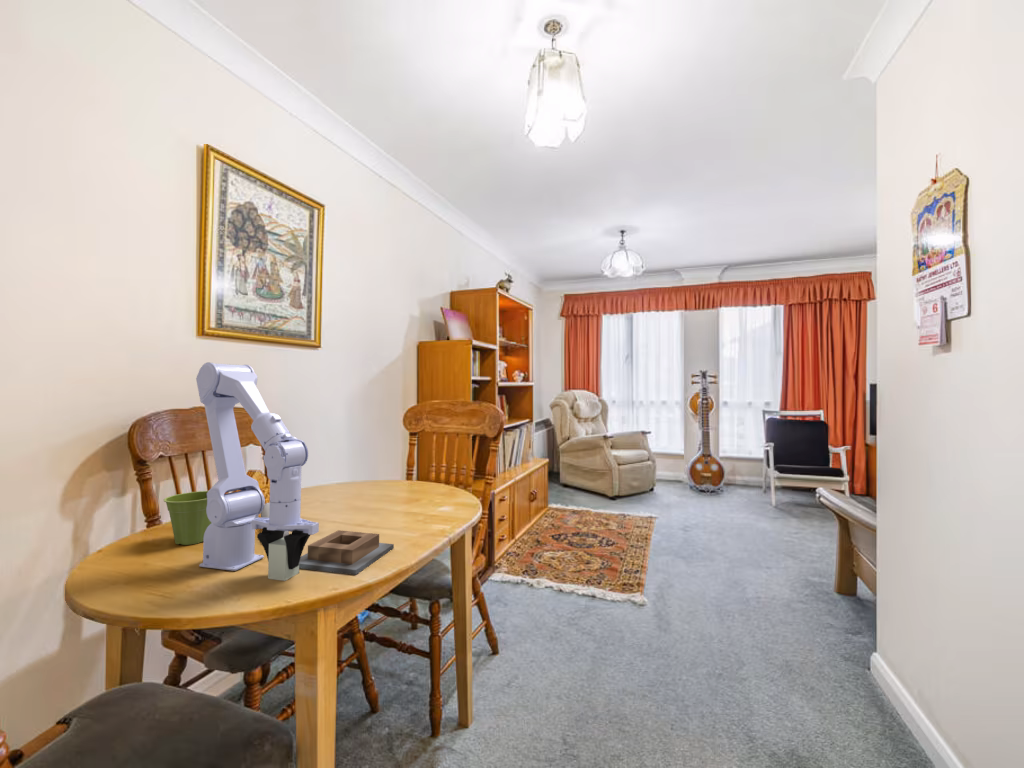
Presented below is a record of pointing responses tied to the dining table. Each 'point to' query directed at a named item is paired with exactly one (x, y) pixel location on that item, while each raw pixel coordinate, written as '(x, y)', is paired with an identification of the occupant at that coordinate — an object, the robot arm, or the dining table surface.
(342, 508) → the dining table surface
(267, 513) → the tube
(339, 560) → the socket
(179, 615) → the dining table surface
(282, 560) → the peg
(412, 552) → the dining table surface
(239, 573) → the dining table surface
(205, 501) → the plant pot
